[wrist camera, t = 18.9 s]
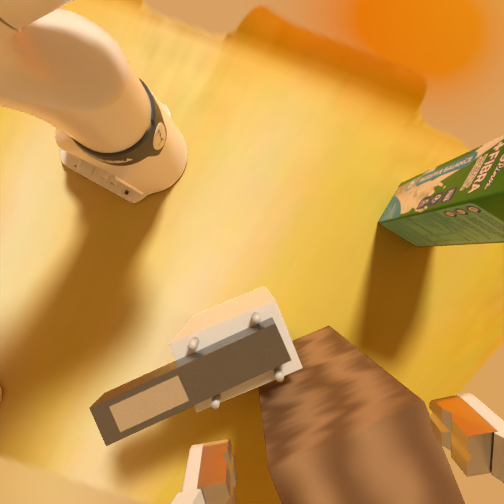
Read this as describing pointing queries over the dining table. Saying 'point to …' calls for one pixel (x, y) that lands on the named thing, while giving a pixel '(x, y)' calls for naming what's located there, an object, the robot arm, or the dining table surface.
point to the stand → (350, 432)
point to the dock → (226, 324)
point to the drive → (189, 381)
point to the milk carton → (453, 201)
